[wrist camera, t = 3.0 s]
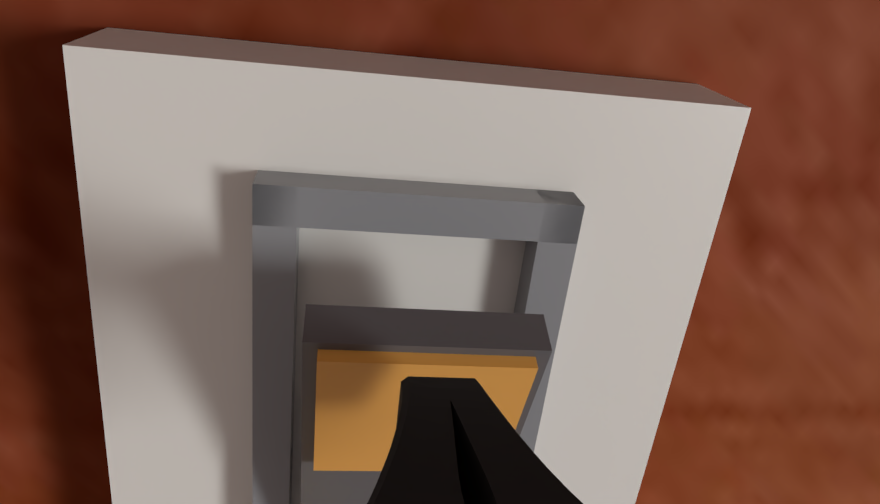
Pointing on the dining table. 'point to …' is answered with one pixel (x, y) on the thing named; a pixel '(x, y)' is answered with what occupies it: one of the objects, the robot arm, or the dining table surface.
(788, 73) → the dining table surface
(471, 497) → the robot arm
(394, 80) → the rocker switch base
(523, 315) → the breaker rocker
